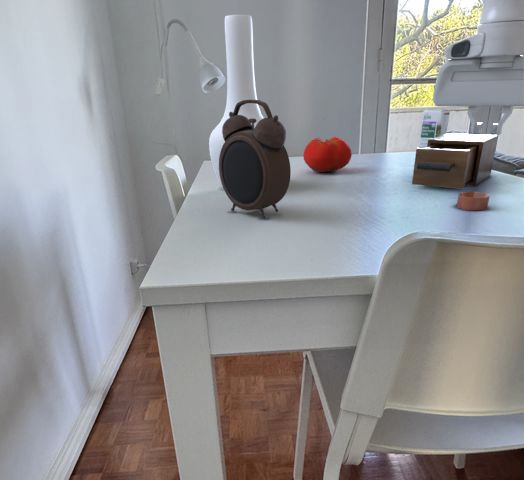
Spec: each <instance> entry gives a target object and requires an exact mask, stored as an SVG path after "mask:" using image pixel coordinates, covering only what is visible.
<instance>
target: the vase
mask: <svg viewBox="0 0 524 480" xmlns="http://www.w3.org/2000/svg"><path fill="white" fill-rule="evenodd" d="M253 29H254V28H253V17H252V15H251V14H230V15H225V16H224V38H225V39H224V40H225V55H226V56H225V57H226V58H225V59H226V88H227V89H226V103H225V109H224V113H223V116H222V118H221V120H220V122H219V123H218V124H217V125H216V126H215V128H213V130H212V131H211V132H210V135H209V139H208V148H209V149H208V151H209V156H210V157H209V158H210V161H211V165H212V169H213V171H214V174H215V177H216V179H217V181H218V182H219V184H220V186H221V187H222V188H223V186H222V183H221V179H220V174H219V157H220V152H221V149H222V146H223V144H224V142H225V141H224V138H223V134H222V127H223V124H224V123H225V121H226V120H227V119H229V118H230V116H229V112H232V113H233V112H234V109H235V106H236V104H237V103H238V102H241V101H243V100H258V96H257V89H256V80H255V79H256V78H255V61H254V30H253ZM238 115H243V116H245V117H247V118H248V120H249V119H250V118H251V119H256V123H254V128H255V126H256V125H257V123H258V122H259V121H260V120H261V119H264V118H265V117H264V116H263V115H262V112H261V109H260V105H258V104H255V103H246V104H244V105H242V106H241V107H240V110H239V112H238ZM251 124H252V123H251Z"/></svg>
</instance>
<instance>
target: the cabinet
mask: <svg viewBox="0 0 524 480" xmlns="http://www.w3.org/2000/svg"><path fill="white" fill-rule="evenodd" d="M498 140H499V135H491V134H471V133H470V134H469V133H446V134H444V135H441V136H438V137H435V138H432V139H428V144H427V147H428V146H431V145H434V144H462V145H479V150H478V156H477V161H476V166H475V172H474V177H473V179H472V180H470V181H468V182H467V183H465V184H464V186H471V187H472V186H474V187H476V186H477V185H479V184H480V183H482V182H483V181H485V180H486V179H488V178H489V177H491V173H492V169H493V164H494V159H495V154H496V150H497V145H498Z"/></svg>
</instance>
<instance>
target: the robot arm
mask: <svg viewBox="0 0 524 480" xmlns="http://www.w3.org/2000/svg"><path fill="white" fill-rule="evenodd" d="M444 58H445V59H446V61H444V63H442V65H441V66H440V68H439V70H438V72H437V76H436V79H435V83H434V89H433V96H432V101H433V103H434V106H435V107H467V113H466V114H467V116H468V119H469V121H470V124H471V128H470V134H477V135H481V134H482V128H483V122H479V121H478V118H477V115H476V114H477V113H479V110H480V107H502V108H501V114H502V117H501V118H500V120H499V121H498V122H497V123H496V122H495V123H494V122H493V123H492V124H491V130H490V135H498V136H500V135H501V134H502V131H503V126H504V124H505V123H506V122H507V120H508V119H509V117H511V115H512V114H513V112H514V111H513V110H514V107H524V0H483V6H482V11H481V15H480V17H479V19H478V22H477V28H476V33H475V34H472V35H470V36H468V37H465V38H463V39H460V40H457V41H455V42H452V43H450V44H448V45H447V46H446V48H445V50H444Z"/></svg>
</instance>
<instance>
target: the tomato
mask: <svg viewBox="0 0 524 480" xmlns="http://www.w3.org/2000/svg"><path fill="white" fill-rule="evenodd" d="M302 156H303V160H304V163H305V165H307V167H308V168H309V169H311V170H312V171H315V172H320V173H327V172H329V171H330V172H332V171H333V172H336V171H338V170H342V169H343V168H345V167H346V166H347V165H349V163H350V162H351V159H352V156H353V154H352V150H351V147H350V146H349V144H348V143H347V142H346V141H345V140H344V139H343V138H341V137H336V136H333V137H330V138H329V139H325V140H324V139H322V138H320V137H317V138H313V139H311V140H310V141H309V142H308V144H307V145H306V146H305V148H304V150H303V155H302Z"/></svg>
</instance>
